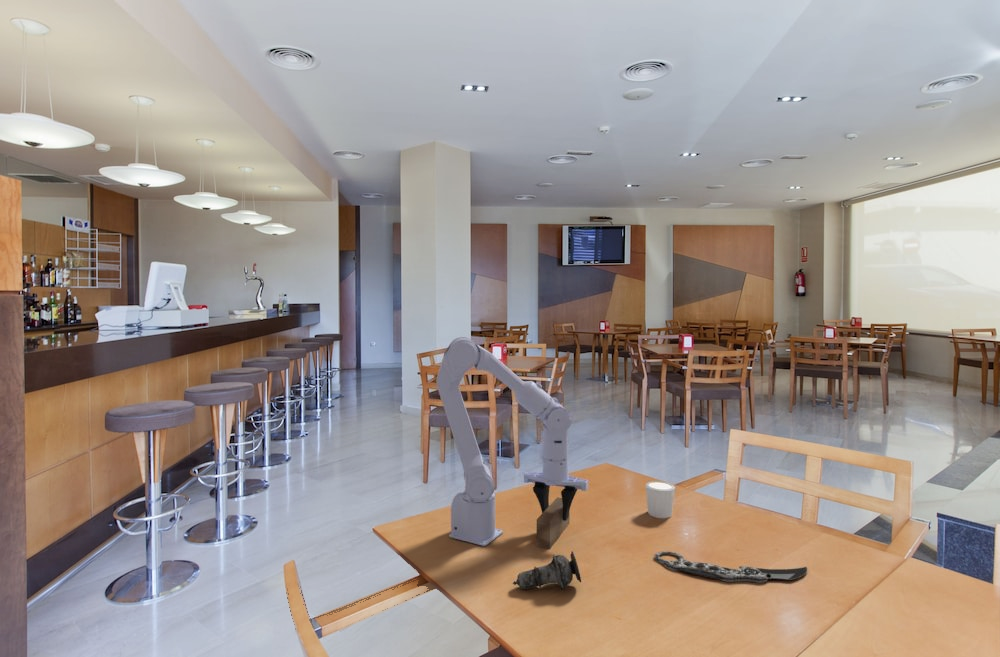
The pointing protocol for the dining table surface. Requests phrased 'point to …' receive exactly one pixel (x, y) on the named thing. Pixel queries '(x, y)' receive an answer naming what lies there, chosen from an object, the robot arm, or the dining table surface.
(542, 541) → the dark wooden brick
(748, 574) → the knife
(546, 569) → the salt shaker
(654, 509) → the white cylinder
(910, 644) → the dining table surface
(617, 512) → the dining table surface
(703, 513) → the dining table surface
